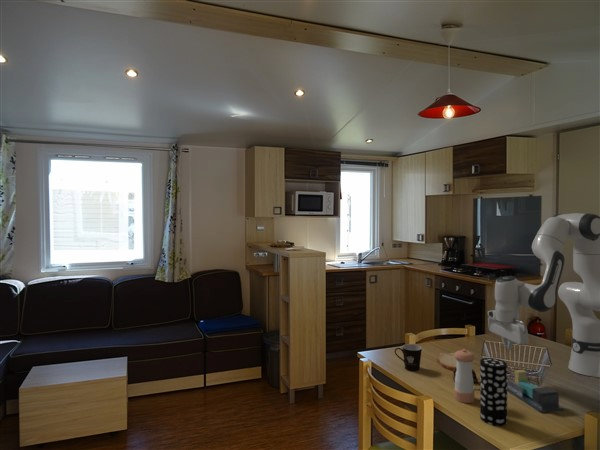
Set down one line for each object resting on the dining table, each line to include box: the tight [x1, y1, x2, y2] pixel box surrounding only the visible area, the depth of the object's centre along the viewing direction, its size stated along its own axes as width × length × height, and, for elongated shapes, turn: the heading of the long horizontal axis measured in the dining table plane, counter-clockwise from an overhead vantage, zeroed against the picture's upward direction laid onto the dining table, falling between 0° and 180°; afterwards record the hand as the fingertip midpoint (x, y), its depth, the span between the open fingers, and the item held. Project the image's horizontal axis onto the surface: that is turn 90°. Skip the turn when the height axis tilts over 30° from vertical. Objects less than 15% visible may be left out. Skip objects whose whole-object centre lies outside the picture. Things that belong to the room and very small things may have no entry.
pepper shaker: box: [453, 348, 475, 404], centre depth 152 cm, size 7×7×19 cm
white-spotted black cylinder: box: [479, 357, 508, 427], centre depth 136 cm, size 8×8×20 cm
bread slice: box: [436, 351, 457, 372], centre depth 189 cm, size 18×18×4 cm
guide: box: [507, 379, 565, 414], centre depth 153 cm, size 9×24×6 cm, turn 10°
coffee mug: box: [394, 343, 423, 372], centre depth 183 cm, size 12×9×10 cm
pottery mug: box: [452, 367, 479, 385], centre depth 168 cm, size 12×9×8 cm
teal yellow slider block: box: [514, 369, 540, 398], centre depth 151 cm, size 4×15×7 cm, turn 9°
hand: (508, 348), depth 165 cm, fingers closed
